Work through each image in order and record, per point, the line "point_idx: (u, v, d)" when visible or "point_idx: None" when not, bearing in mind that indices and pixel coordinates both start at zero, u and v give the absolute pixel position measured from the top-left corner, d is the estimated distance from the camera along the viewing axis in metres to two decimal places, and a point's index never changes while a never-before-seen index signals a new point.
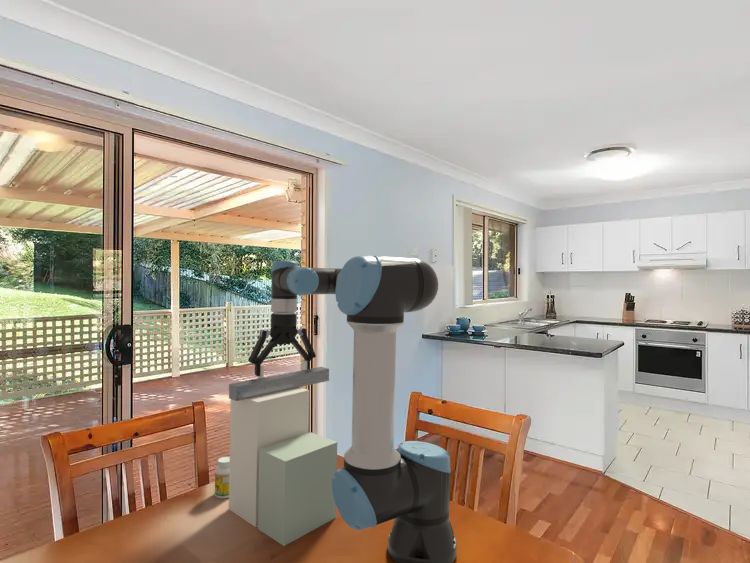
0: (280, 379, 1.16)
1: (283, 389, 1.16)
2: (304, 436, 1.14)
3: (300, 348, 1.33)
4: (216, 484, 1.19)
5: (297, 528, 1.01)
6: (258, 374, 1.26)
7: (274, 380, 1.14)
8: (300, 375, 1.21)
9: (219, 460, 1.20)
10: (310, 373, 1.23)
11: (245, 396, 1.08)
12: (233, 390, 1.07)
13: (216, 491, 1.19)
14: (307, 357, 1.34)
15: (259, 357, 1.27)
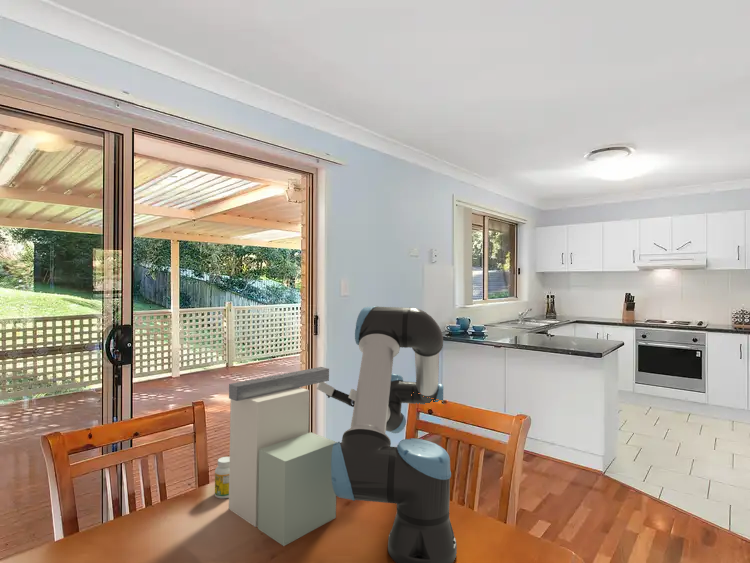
0: (280, 379, 1.16)
1: (283, 389, 1.16)
2: (304, 436, 1.14)
3: None
4: (216, 484, 1.19)
5: (297, 528, 1.01)
6: None
7: (274, 380, 1.14)
8: (300, 375, 1.21)
9: (219, 460, 1.20)
10: (310, 373, 1.23)
11: (245, 396, 1.08)
12: (233, 390, 1.07)
13: (216, 491, 1.19)
14: None
15: None
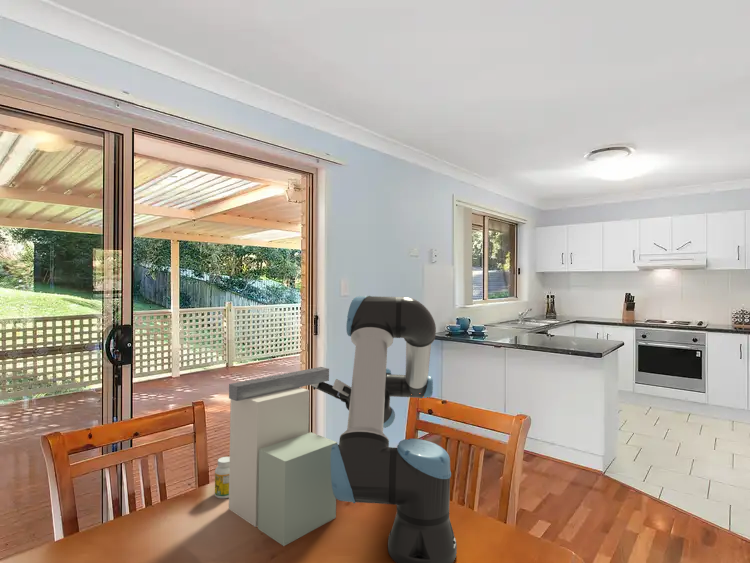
0: (280, 379, 1.16)
1: (283, 389, 1.16)
2: (304, 436, 1.14)
3: None
4: (216, 484, 1.19)
5: (297, 528, 1.01)
6: None
7: (274, 380, 1.14)
8: (300, 375, 1.21)
9: (219, 460, 1.20)
10: (310, 373, 1.23)
11: (245, 396, 1.08)
12: (233, 390, 1.07)
13: (216, 491, 1.19)
14: None
15: None
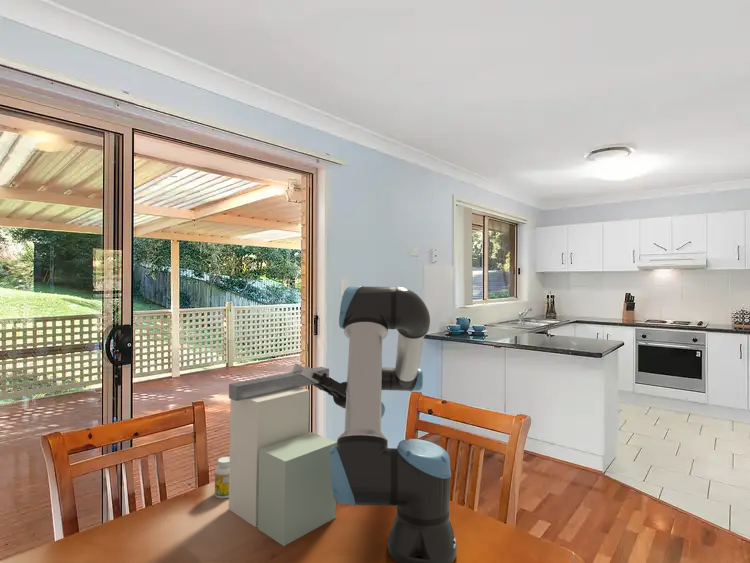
0: (280, 379, 1.16)
1: (283, 389, 1.16)
2: (304, 436, 1.14)
3: None
4: (216, 484, 1.19)
5: (297, 528, 1.01)
6: None
7: (274, 380, 1.14)
8: (300, 375, 1.21)
9: (219, 460, 1.20)
10: None
11: (245, 396, 1.08)
12: (233, 390, 1.07)
13: (216, 491, 1.19)
14: None
15: None
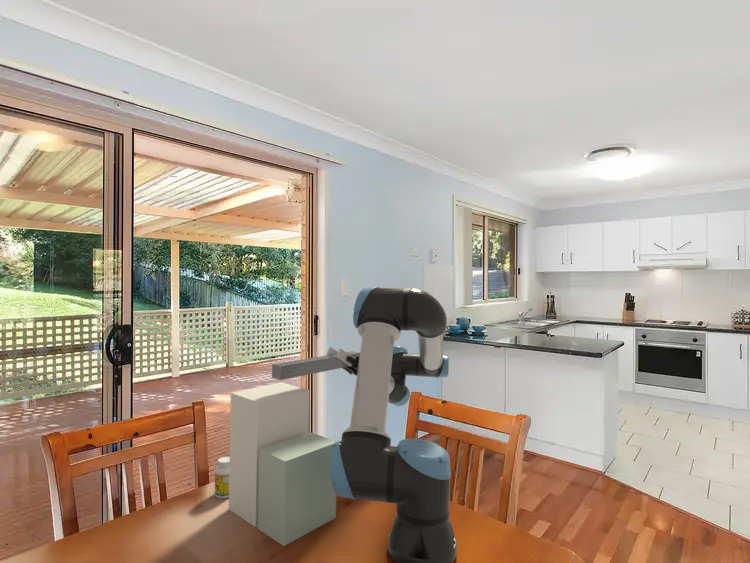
0: (318, 361, 1.21)
1: (320, 370, 1.22)
2: (304, 436, 1.14)
3: None
4: (216, 484, 1.19)
5: (297, 528, 1.01)
6: None
7: (313, 361, 1.20)
8: (335, 358, 1.26)
9: (219, 460, 1.20)
10: None
11: (288, 376, 1.14)
12: (277, 370, 1.12)
13: (216, 491, 1.19)
14: None
15: None
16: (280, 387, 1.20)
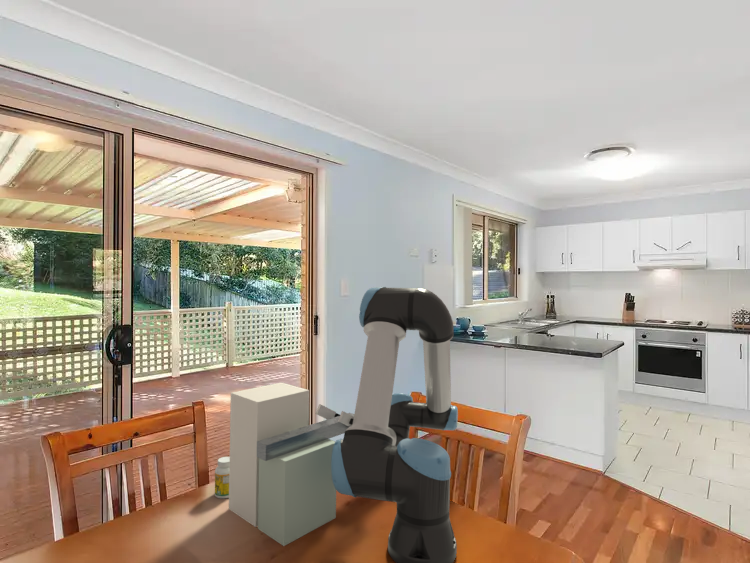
0: (309, 432, 1.08)
1: (312, 442, 1.09)
2: None
3: None
4: (216, 484, 1.19)
5: (297, 528, 1.01)
6: None
7: (303, 434, 1.06)
8: (330, 426, 1.13)
9: (219, 460, 1.20)
10: None
11: (274, 455, 1.00)
12: (262, 449, 0.99)
13: (216, 491, 1.19)
14: None
15: None
16: (280, 387, 1.20)
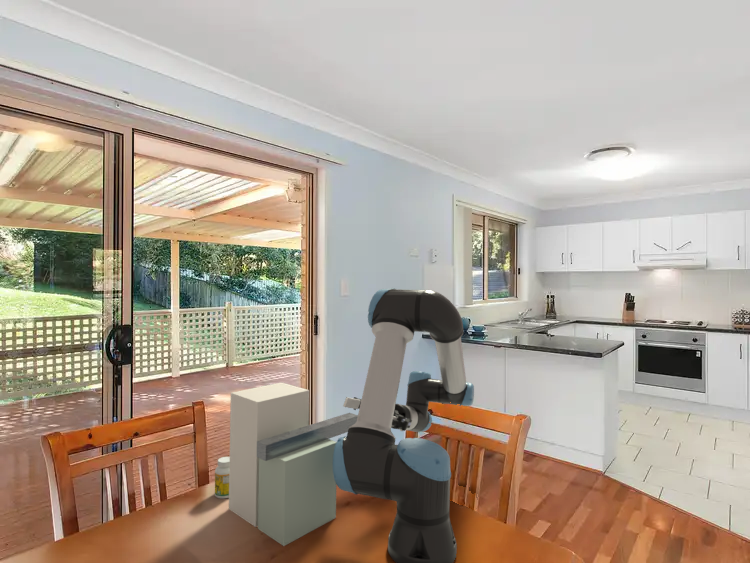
0: (309, 432, 1.08)
1: (312, 442, 1.09)
2: None
3: (397, 416, 1.29)
4: (216, 484, 1.19)
5: (297, 528, 1.01)
6: None
7: (303, 434, 1.06)
8: (330, 426, 1.13)
9: (219, 460, 1.20)
10: (340, 422, 1.16)
11: (274, 455, 1.00)
12: (262, 449, 0.99)
13: (216, 491, 1.19)
14: None
15: None
16: (280, 387, 1.20)
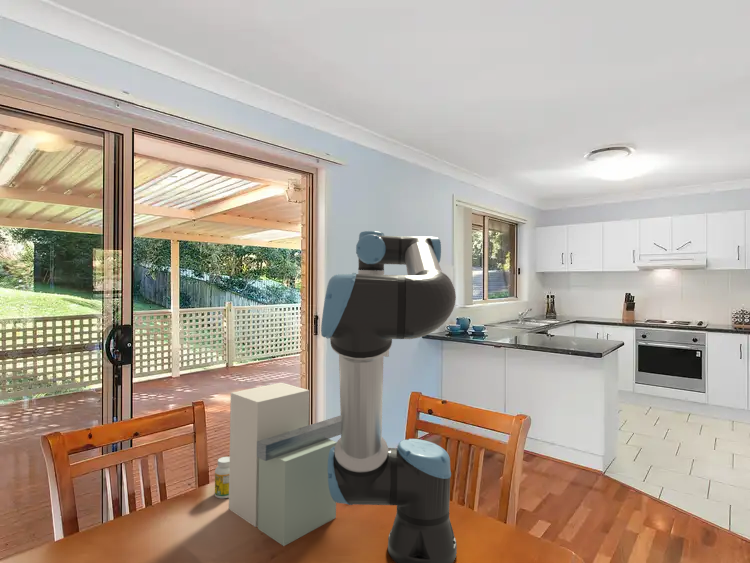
0: (309, 432, 1.08)
1: (312, 442, 1.09)
2: None
3: None
4: (216, 484, 1.19)
5: (297, 528, 1.01)
6: None
7: (303, 434, 1.06)
8: (330, 426, 1.13)
9: (219, 460, 1.20)
10: (340, 422, 1.16)
11: (274, 455, 1.00)
12: (262, 449, 0.99)
13: (216, 491, 1.19)
14: None
15: None
16: (280, 387, 1.20)
